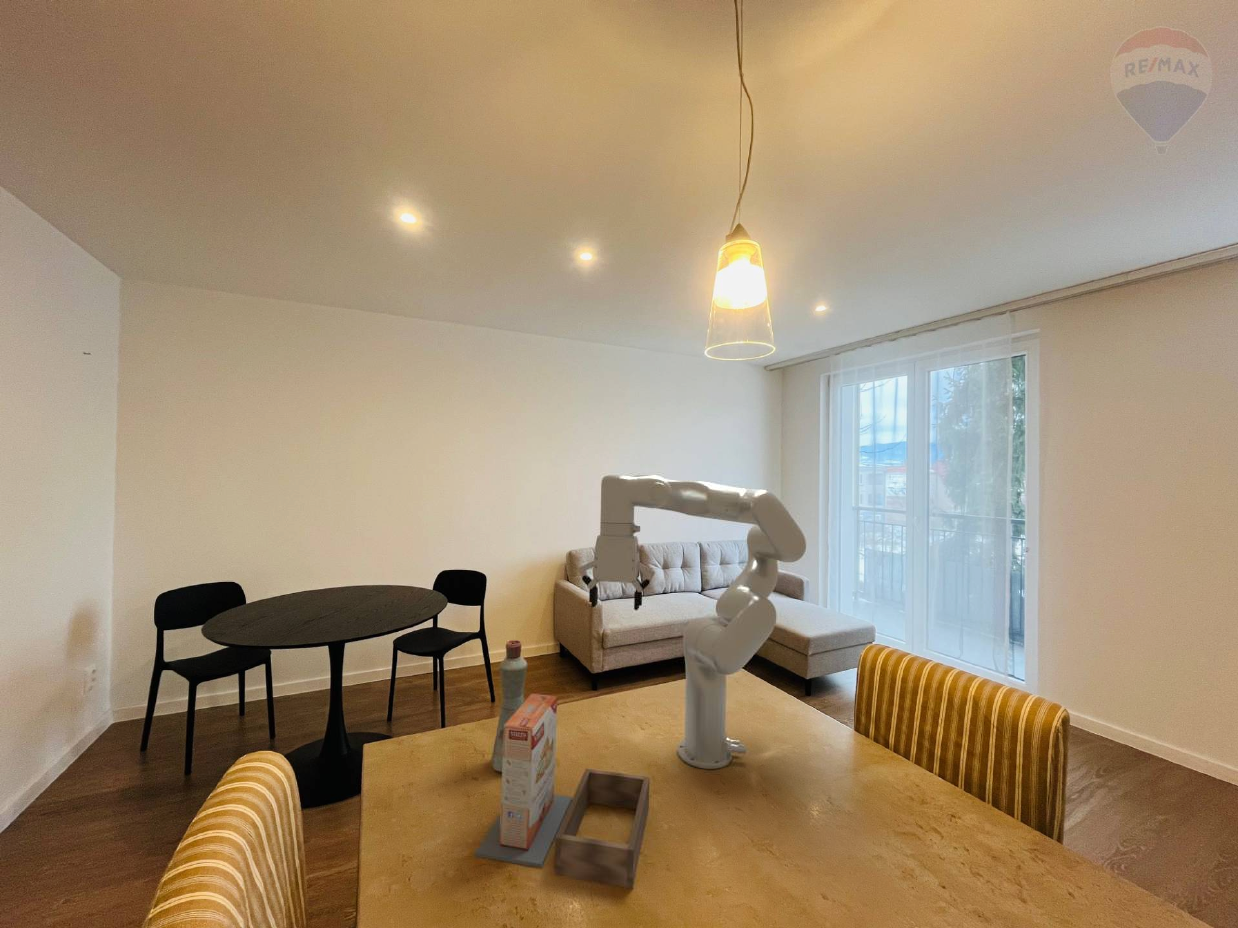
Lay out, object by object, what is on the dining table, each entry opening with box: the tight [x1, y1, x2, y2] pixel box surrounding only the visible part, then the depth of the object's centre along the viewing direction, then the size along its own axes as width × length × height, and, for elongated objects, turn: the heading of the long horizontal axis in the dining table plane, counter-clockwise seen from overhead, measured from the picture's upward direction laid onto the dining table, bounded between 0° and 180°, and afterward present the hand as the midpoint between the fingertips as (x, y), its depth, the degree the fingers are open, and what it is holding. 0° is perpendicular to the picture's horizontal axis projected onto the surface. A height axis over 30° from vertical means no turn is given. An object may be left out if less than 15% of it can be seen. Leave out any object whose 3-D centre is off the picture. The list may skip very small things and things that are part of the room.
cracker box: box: [499, 693, 559, 850], centre depth 94 cm, size 14×6×21 cm, turn 169°
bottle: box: [490, 639, 528, 773], centre depth 114 cm, size 9×9×28 cm
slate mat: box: [474, 793, 573, 869], centre depth 93 cm, size 12×18×1 cm, turn 169°
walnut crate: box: [553, 768, 650, 890], centre depth 91 cm, size 13×20×6 cm, turn 169°
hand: (615, 607), depth 112 cm, fingers open, 9 cm apart
